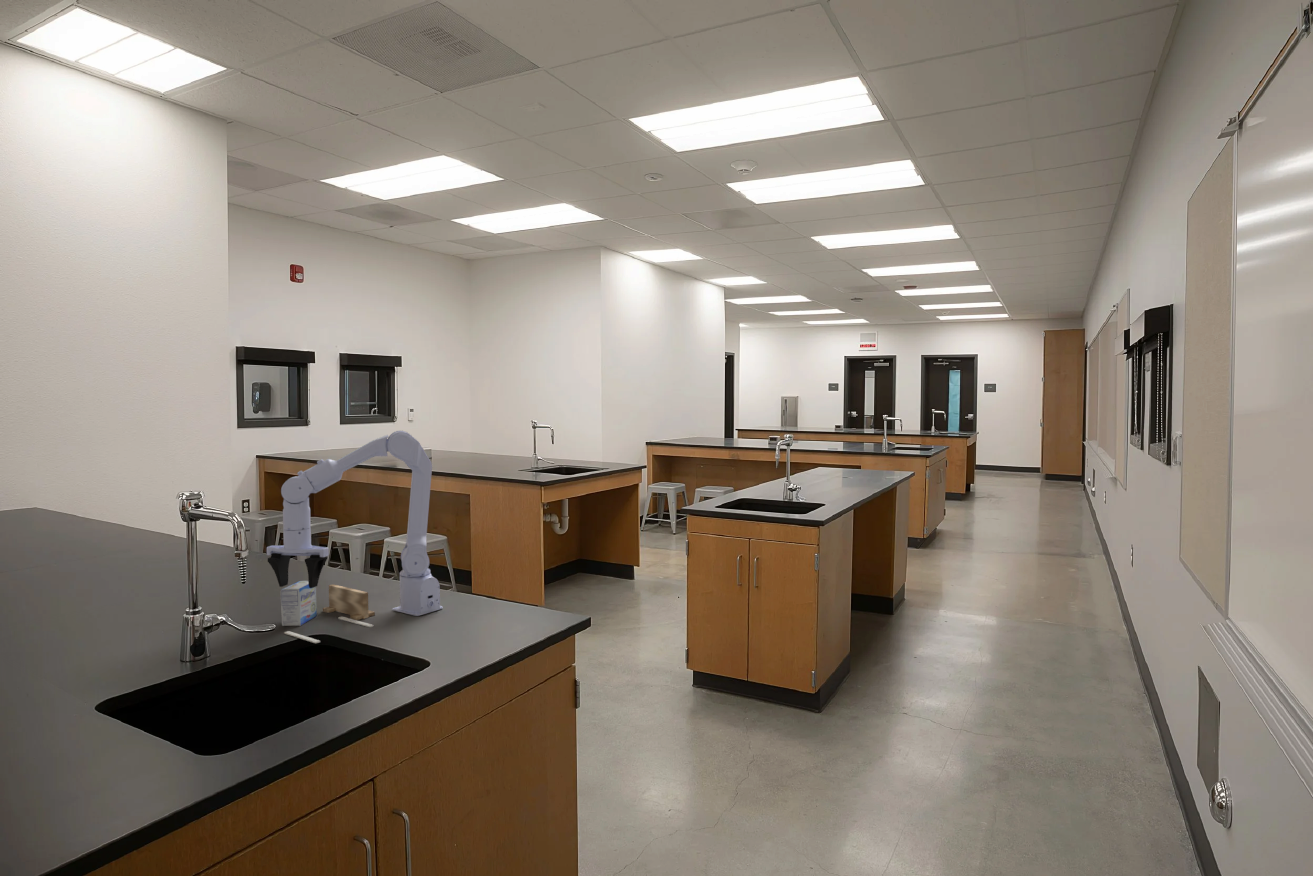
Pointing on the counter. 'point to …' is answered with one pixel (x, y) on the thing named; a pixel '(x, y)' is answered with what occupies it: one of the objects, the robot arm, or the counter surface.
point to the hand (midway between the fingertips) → (298, 586)
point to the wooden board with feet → (348, 602)
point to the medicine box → (298, 604)
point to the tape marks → (318, 640)
